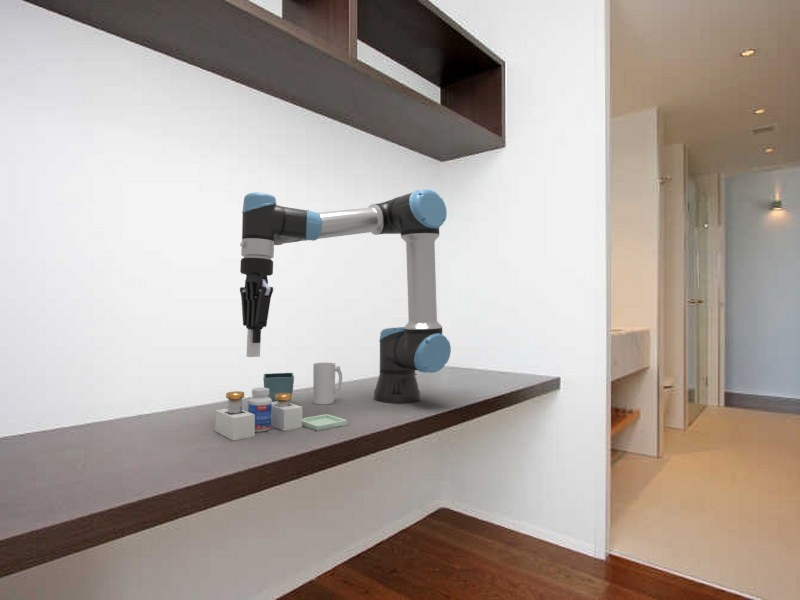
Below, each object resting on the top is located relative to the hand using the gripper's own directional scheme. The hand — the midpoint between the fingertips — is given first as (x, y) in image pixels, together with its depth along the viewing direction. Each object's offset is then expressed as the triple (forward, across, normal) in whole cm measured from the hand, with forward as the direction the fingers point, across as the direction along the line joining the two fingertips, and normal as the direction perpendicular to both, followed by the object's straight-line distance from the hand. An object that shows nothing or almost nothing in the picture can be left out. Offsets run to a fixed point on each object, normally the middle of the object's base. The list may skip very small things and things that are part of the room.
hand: (253, 356), depth 112 cm
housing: (+18, 0, +2) cm, 18 cm away
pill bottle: (+18, 0, +2) cm, 18 cm away
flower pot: (+18, -22, +19) cm, 34 cm away
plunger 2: (+17, 0, +9) cm, 19 cm away
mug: (+17, -16, +33) cm, 41 cm away
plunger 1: (+15, 0, -4) cm, 16 cm away
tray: (+17, +6, +16) cm, 25 cm away
